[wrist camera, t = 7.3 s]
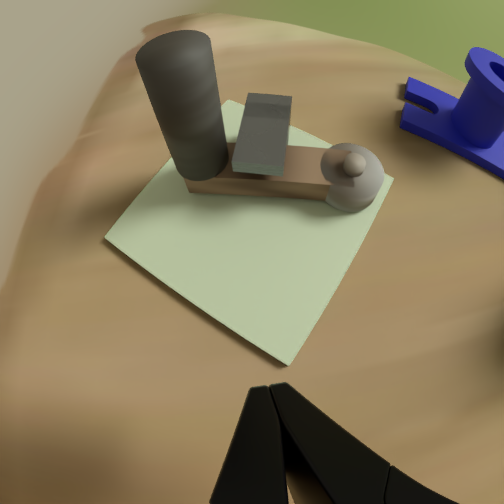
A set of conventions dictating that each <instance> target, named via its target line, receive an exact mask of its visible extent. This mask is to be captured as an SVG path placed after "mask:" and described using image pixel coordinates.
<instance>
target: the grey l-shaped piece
mask: <svg viewBox="0 0 504 504" xmlns="http://www.w3.org/2000/svg"><path fill="white" fill-rule="evenodd" d="M135 60H136V63H137V66H138V69H139V72H140V75H141V77H142V80H143V83H144V85H145V88H146V91H147V94H148V96H149V99H150V102H151V104H152V107H153V110H154V112H155V115H156V118H157V120H158V123H159V125H160V128H161V131H162V133H163V136H164V138H165V141H166V143H167V146H168V149H169V151H170V154H171V156H172V159H173V161H174V164H175V166H176V169H177V171H178V172H179V174H180V175H181V176H182V177H183V178H184V181H185V183H186V186H187V189H188V191H189V193H205V194H228V195H248V196H265V197H281V198H295V199H308V200H321V201H326V202H327V203H328V204H329V205H331V206H332V207H334V208H336V209H339V210H342V211H346V212H357V211H361V210H364V209H365V208H367V207H368V206H370V205H371V204H372V202H373V201H374V199H375V197H376V195H377V193H378V192H379V190H380V188H381V186H382V184H383V181H384V170H383V167H382V164H381V162H380V161H379V159H378V158H377V157H376V156H375V155H374V154H373V153H372V152H371V151H369V150H368V149H366V148H364V147H362V146H359V145H356V144H351V143H341V144H337V145H334V146H332V147H330V148H329V149H328V148H317V147H306V146H293V145H287V147H286V156H285V164H284V172H283V177H282V176H273V175H264V174H254V173H244V172H233V168H232V157H233V153H234V149H235V145H236V143H232V142H226V135H225V129H224V123H223V117H222V110H221V104H220V98H219V92H218V85H217V79H216V73H215V66H214V60H213V53H212V47H211V41H210V38H209V37H208V36H207V35H206V34H205V33H202V32H199V31H195V30H180V31H174V32H170V33H166V34H163V35H161V36H158V37H156V38H154V39H152V40H151V41H149V42H147V43H146V44H145V45H144V46H142V47H141V49H140V50H139V51H138V52H137V54H136V59H135Z"/></svg>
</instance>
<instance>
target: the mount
mask: <svg viewBox="0 0 504 504" xmlns="http://www.w3.org/2000/svg"><path fill="white" fill-rule="evenodd" d="M465 67H466V70H467V72H468V73H469V75H470V77H471V78H470V80H469V82H468V84H467V86H466V87H465V89H464V91H463V93H462V95H461V97H460V99H457V98H455V97H453V96H451V95H449V94H447V93H445V92H443V91H440V90H438V89H436V88H434V87H432V86H430V85H427V84H425V83H423V82H420V81H418V80H416V79H413V78H411V77H409V78H408V81H407V83H406V89H405V96H404V98H405V99H407V100H410V101H412V102H415V103H417V104H419V105H422V106H424V107H426V108H428V109H430V110H431V111H432V112H433V113H434V114H433V113H430V112H427V111H425V110H423V109H421V108H418V107H416V106H414V105H411V104H409V103H407V102H406V103H405V105H404V107H403V110H402V116H401V122H400V128H402V129H404V130H406V131H409V132H411V133H413V134H416V135H418V136H420V137H423V138H425V139H427V140H429V141H431V142H434V143H436V144H438V145H440V146H442V147H444V148H446V149H448V150H450V151H452V152H454V153H456V154H458V155H460V156H462V157H464V158H466V159H468V160H470V161H472V162H474V163H476V164H478V165H479V166H481V167H483V168H485V169H487V170H489V171H490V172H492V173H494V174H496V175H497V176H499V177H501V178H502V179H504V58H502V57H501V56H499V55H497V54H495V53H493V52H491V51H489V50H486V49H484V48H479V47H474V48H472V49H470V51H469V53H468V55H467V57H466V60H465Z"/></svg>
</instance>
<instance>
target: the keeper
mask: <svg viewBox="0 0 504 504" xmlns="http://www.w3.org/2000/svg"><path fill="white" fill-rule="evenodd" d="M291 103H292V96H282V95H271V94H258V93H248V96H247V100H246V104H245V108H244V112H243V116H242V120H241V124H240V128H239V132H238V136H237V141H236V145H235V149H234V153H233V157H232V168H233V172H244V173H254V174H264V175H273V176H282V177H283V172H284V164H285V156H286V147H287V145H288V141H289V130H290V117H291Z"/></svg>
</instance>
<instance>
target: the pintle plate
mask: <svg viewBox="0 0 504 504" xmlns="http://www.w3.org/2000/svg"><path fill="white" fill-rule="evenodd" d="M244 108H245V106H244V105H241V104H239V103H236V102H234V101H231V100H227V101H226V102H225V103H224V104H223V105H222V106H221V110H222V117H223V123H224V129H225V135H226V142H232V143H236V141H237V136H238V132H239V128H240V124H241V120H242V116H243V112H244ZM288 145H293V146H306V147H317V148H328V149H329V148H330V147H332V146H333V145H331V144H329V143H327V142H325V141H323V140H321V139H319V138H317V137H315V136H313V135H310V134H308V133H306V132H304V131H302V130H300V129H298V128H295V127H293V126H291V125H290V130H289V141H288ZM393 180H394V178H392V177H390V176H389V175H387V174H385V173H384V181H383V184H382V186H381V188H380V190H379V192H378V193H377V195H376V197H375V199H374V201H373V202H372V204H371V205H370V206H368V207H367V208H365V209H364V210H361V211H357V212H346V211H342V210H339V209H336V208H334V207H332V206H331V205H329V204H328V203H327V202H326V201H321V200H308V199H295V198H281V197H265V196H248V195H228V194H205V193H189V191H188V189H187V186H186V183H185V181H184V178H183V177H182V176H181V175H180V174H179V172H178V171H177V169H176V166H175V164H174V161H173V159H172V157H171V158H170V159H169V161H168V162H167V163H166V164H165V165H164V166H163V167H162V168H161V169H160V170H159V172H158V173H157V174H156V175H155V176H154V177H153V178H152V180H151V181H150V182H149V183H148V184H147V185H146V186H145V188H144V189H143V190H142V191H141V192H140V193H139V195H138V196H137V197H136V198H135V199H134V201H133V202H132V203H131V204H130V205H129V207H128V208H127V209H126V210H125V211H124V213H123V214H122V215H121V216H120V218H119V219H118V220H117V221H116V223H115V224H114V225H113V226H112V228H111V229H110V230H109V232H108V233H107V234H106V235H105V237H104V238H106V239H107V240H108V241H109V242H110V243H111V244H113V245H114V246H115V247H117V248H118V249H119V250H120V251H122V252H123V253H124V254H126V255H127V256H128V257H130V258H131V259H132V260H133V261H135V262H136V263H137V264H139V265H140V266H141V267H143V268H144V269H145V270H147V271H148V272H149V273H151V274H152V275H154V276H155V277H156V278H158V279H159V280H160V281H162V282H163V283H164V284H166V285H167V286H169V287H170V288H171V289H173V290H174V291H176V292H177V293H178V294H180V295H181V296H183V297H184V298H185V299H187V300H188V301H190V302H191V303H193V304H194V305H195V306H197V307H198V308H200V309H201V310H203V311H204V312H206V313H207V314H208V315H210V316H211V317H213V318H214V319H216V320H217V321H219V322H220V323H222V324H223V325H225V326H226V327H228V328H229V329H231V330H232V331H234V332H235V333H237V334H238V335H240V336H241V337H243V338H244V339H246V340H247V341H249V342H251V343H252V344H254V345H255V346H257V347H258V348H260V349H261V350H263V351H265V352H266V353H268V354H269V355H271V356H273V357H274V358H276V359H277V360H279V361H281V362H282V363H284V364H285V365H287V366H289V365H290V364H291V362H292V361H293V359H294V357H295V356H296V354H297V353H298V351H299V350H300V348H301V347H302V345H303V343H304V342H305V340H306V339H307V337H308V335H309V334H310V332H311V331H312V329H313V327H314V326H315V324H316V322H317V321H318V319H319V317H320V316H321V314H322V312H323V311H324V309H325V307H326V306H327V304H328V302H329V301H330V299H331V297H332V295H333V294H334V292H335V290H336V289H337V287H338V285H339V283H340V282H341V280H342V278H343V276H344V274H345V273H346V271H347V269H348V267H349V266H350V264H351V262H352V260H353V258H354V256H355V255H356V253H357V251H358V249H359V247H360V245H361V243H362V242H363V240H364V238H365V236H366V234H367V232H368V230H369V228H370V226H371V224H372V222H373V220H374V218H375V216H376V214H377V213H378V211H379V209H380V207H381V205H382V202H383V200H384V198H385V196H386V194H387V192H388V190H389V188H390V186H391V184H392V182H393Z"/></svg>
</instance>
